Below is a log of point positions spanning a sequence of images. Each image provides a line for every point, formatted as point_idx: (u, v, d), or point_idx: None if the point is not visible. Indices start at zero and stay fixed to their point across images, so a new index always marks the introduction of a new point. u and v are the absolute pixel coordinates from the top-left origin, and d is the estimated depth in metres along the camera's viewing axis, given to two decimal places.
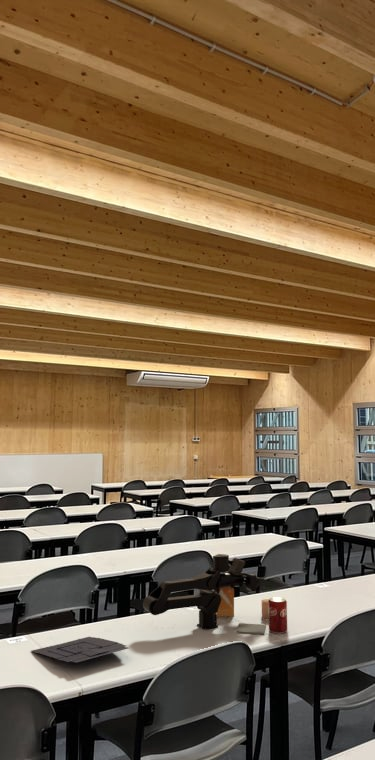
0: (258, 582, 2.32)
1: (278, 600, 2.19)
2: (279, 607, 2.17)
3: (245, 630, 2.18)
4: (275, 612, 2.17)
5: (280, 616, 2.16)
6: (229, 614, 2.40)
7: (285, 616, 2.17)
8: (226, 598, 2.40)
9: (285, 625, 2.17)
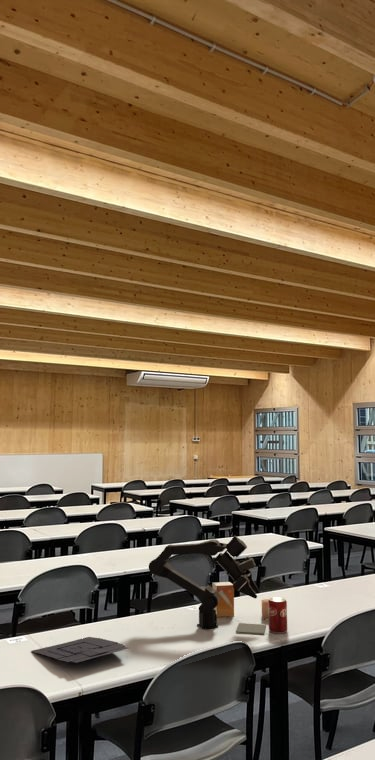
0: (248, 591, 2.18)
1: (278, 600, 2.19)
2: (279, 607, 2.17)
3: (245, 630, 2.18)
4: (275, 612, 2.17)
5: (280, 616, 2.16)
6: (229, 614, 2.40)
7: (285, 616, 2.17)
8: (226, 598, 2.40)
9: (285, 625, 2.17)
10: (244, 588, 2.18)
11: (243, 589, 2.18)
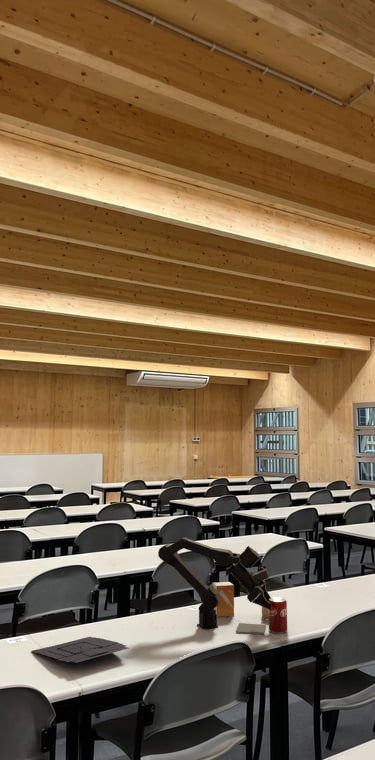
0: (262, 602, 2.16)
1: (278, 600, 2.19)
2: (279, 607, 2.17)
3: (245, 630, 2.18)
4: (275, 612, 2.17)
5: (280, 616, 2.16)
6: (229, 614, 2.40)
7: (285, 616, 2.17)
8: (226, 598, 2.40)
9: (285, 625, 2.17)
10: (258, 599, 2.17)
11: (257, 600, 2.16)
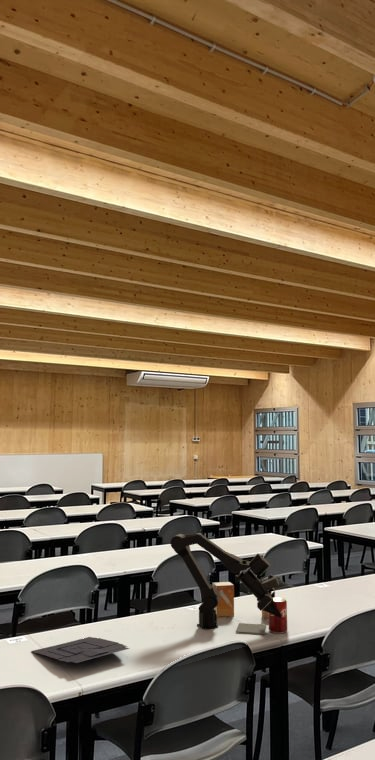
0: (272, 610, 2.16)
1: (278, 600, 2.19)
2: (279, 607, 2.17)
3: (245, 630, 2.18)
4: None
5: None
6: (229, 614, 2.40)
7: (285, 616, 2.17)
8: (226, 598, 2.40)
9: (285, 625, 2.17)
10: (268, 607, 2.16)
11: (267, 608, 2.16)
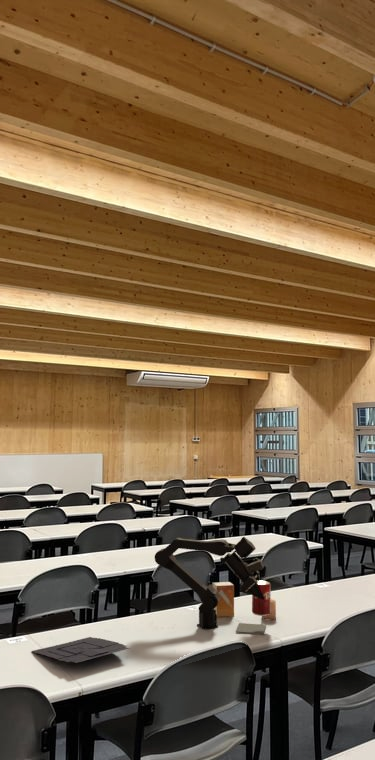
0: (255, 592, 2.18)
1: (262, 583, 2.21)
2: (262, 590, 2.19)
3: (245, 630, 2.18)
4: None
5: None
6: (229, 614, 2.40)
7: (268, 599, 2.20)
8: (226, 598, 2.40)
9: (268, 608, 2.19)
10: (252, 589, 2.18)
11: (251, 590, 2.18)
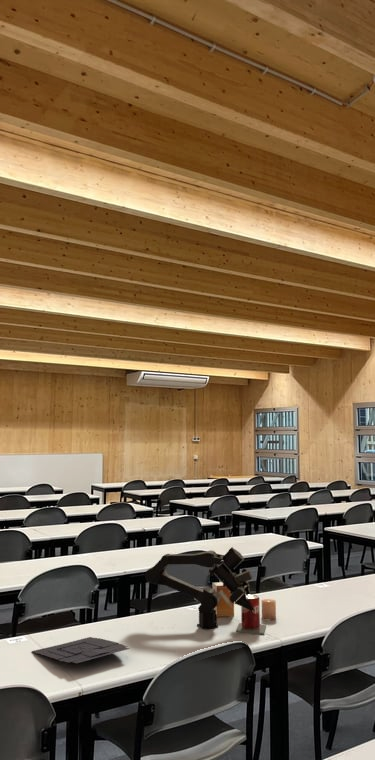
0: (244, 603, 2.17)
1: (251, 597, 2.22)
2: (251, 604, 2.19)
3: (245, 630, 2.18)
4: None
5: (252, 613, 2.19)
6: (229, 614, 2.40)
7: (257, 613, 2.20)
8: (226, 598, 2.40)
9: (257, 622, 2.19)
10: (241, 600, 2.18)
11: (240, 601, 2.17)
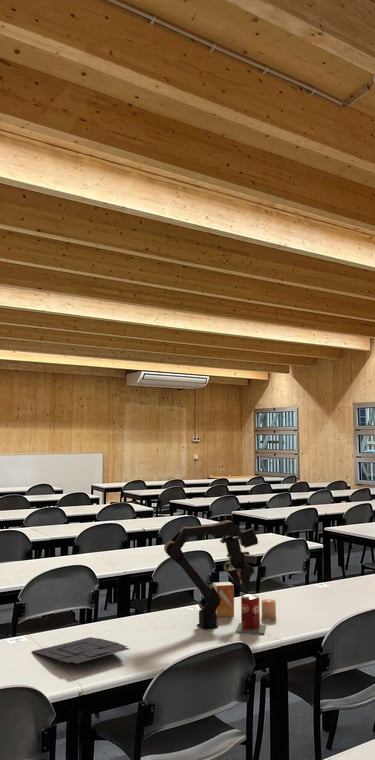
0: (245, 582, 2.24)
1: (251, 597, 2.22)
2: (251, 604, 2.19)
3: (245, 630, 2.18)
4: (247, 608, 2.19)
5: (252, 613, 2.18)
6: (229, 614, 2.40)
7: (257, 613, 2.20)
8: (226, 598, 2.40)
9: (257, 622, 2.19)
10: (244, 577, 2.24)
11: (243, 578, 2.24)
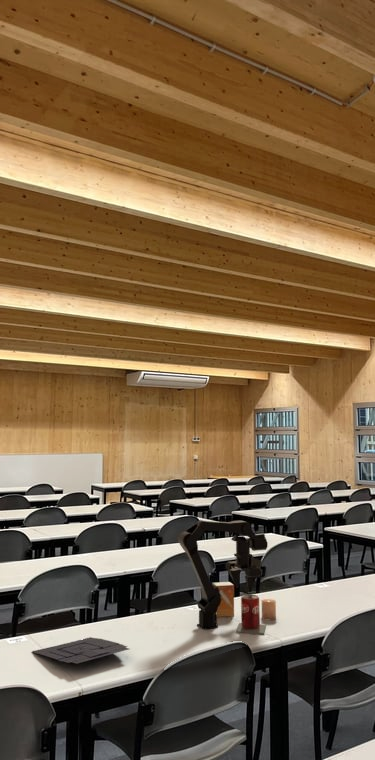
0: (250, 583, 2.27)
1: (251, 597, 2.22)
2: (251, 604, 2.19)
3: (245, 630, 2.18)
4: (247, 608, 2.19)
5: (252, 613, 2.18)
6: (229, 614, 2.40)
7: (257, 613, 2.20)
8: (226, 598, 2.40)
9: (257, 622, 2.19)
10: (250, 578, 2.27)
11: (249, 578, 2.27)
